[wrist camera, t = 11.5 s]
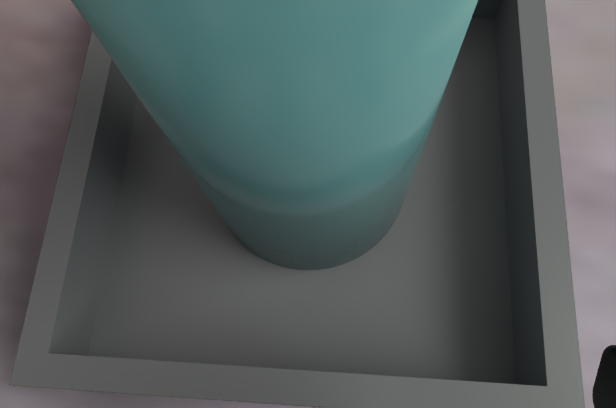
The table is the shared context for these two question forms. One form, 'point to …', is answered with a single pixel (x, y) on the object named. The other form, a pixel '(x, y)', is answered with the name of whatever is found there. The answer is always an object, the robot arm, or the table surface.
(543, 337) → the tray
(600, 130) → the table surface
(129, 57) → the teal cylinder
